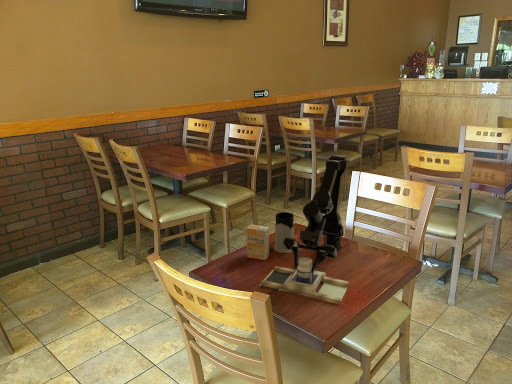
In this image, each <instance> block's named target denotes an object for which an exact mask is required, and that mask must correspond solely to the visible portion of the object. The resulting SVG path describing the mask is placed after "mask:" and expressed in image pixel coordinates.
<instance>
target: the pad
mask: <svg viewBox="0 0 512 384" xmlns="http://www.w3.org/2000/svg"><path fill="white" fill-rule="evenodd" d="M348 288H349V286H348V287H344V286H340V285H335V284H331V283H326V282H323V285H322V286H321V288H320V289H319V291H318V292H317V293H321V294H325V295H330V296H334V297H338V298H341V301H342V300H343V299H344V297H345V294H346V292H347V290H348Z"/></svg>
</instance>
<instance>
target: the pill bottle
mask: <svg viewBox="0 0 512 384" xmlns="http://www.w3.org/2000/svg"><path fill="white" fill-rule="evenodd" d="M312 267H313V260H312V258H311V257H306V256H303V257H300V259H299V261H298V266H297V280H296V282H300V283H305V284H309V285H312V284H313V283H314V280H313V273H312V272H311V271H312Z"/></svg>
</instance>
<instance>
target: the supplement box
mask: <svg viewBox="0 0 512 384" xmlns="http://www.w3.org/2000/svg"><path fill="white" fill-rule="evenodd" d="M245 230H246V258H247V259H248V258H249V259H255V260H261V261H266V260H267V259H268V258H269V256H270V255H269V254H270V226H266V225H265V226H264V225H257V224H252V223H250V224H249V225H248V226H246V229H245Z"/></svg>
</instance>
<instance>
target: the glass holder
mask: <svg viewBox="0 0 512 384" xmlns="http://www.w3.org/2000/svg"><path fill="white" fill-rule="evenodd" d="M294 216H295V215H294V213H293V212H292V211H290V212H287V211H285V212H284V211H282V212H278V213H276V214H275V224H274V225H275V226H274V246H273V249H274V251H275V252H277V253H281V254H286V253H287V254H288V253H289V254H290V253H291V252H292V253H293V251H292V250H289V249H286V247H285V246H284V245H283V240H284V239H285V238H286V237H289V238H294V239H295V225H294V224H295V223H294Z"/></svg>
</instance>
